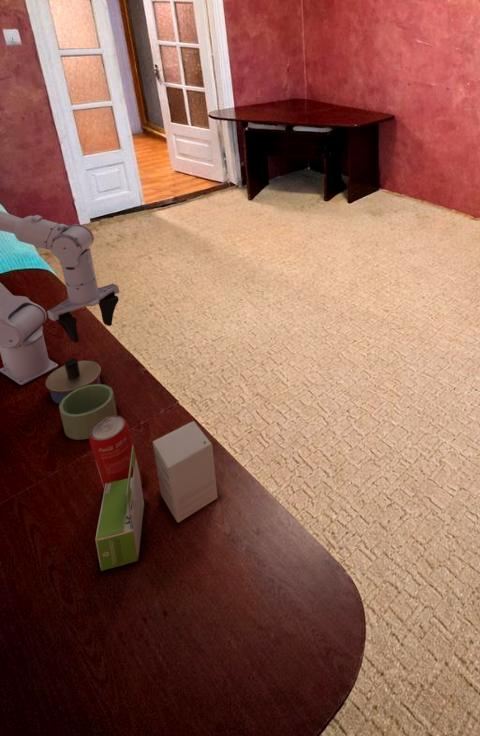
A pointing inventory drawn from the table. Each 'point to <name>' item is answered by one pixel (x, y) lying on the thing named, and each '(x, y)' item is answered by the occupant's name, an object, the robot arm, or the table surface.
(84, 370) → the lid
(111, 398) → the pot
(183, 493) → the white packaging box
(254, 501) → the table surface
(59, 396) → the pan
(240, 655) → the table surface
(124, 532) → the ink box
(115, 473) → the beverage can
